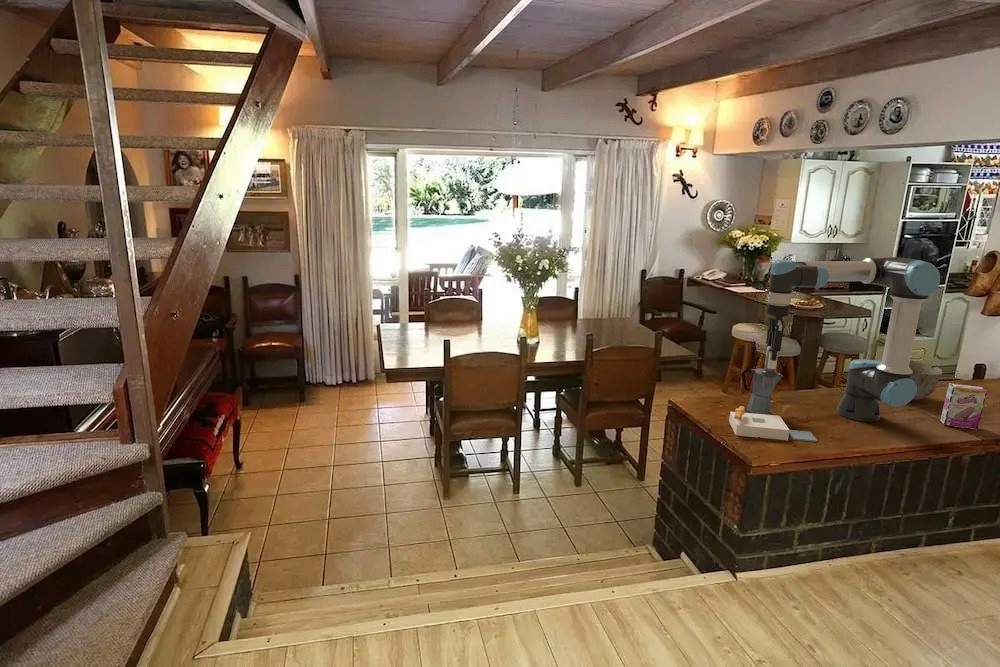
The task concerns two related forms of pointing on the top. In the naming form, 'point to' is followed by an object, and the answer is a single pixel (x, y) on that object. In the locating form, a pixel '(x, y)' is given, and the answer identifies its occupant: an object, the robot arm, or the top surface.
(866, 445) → the top surface
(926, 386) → the bowl
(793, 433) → the pad
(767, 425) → the socket board
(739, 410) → the orange bar with knob
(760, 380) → the moka pot
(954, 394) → the candy bar box
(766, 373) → the plug
